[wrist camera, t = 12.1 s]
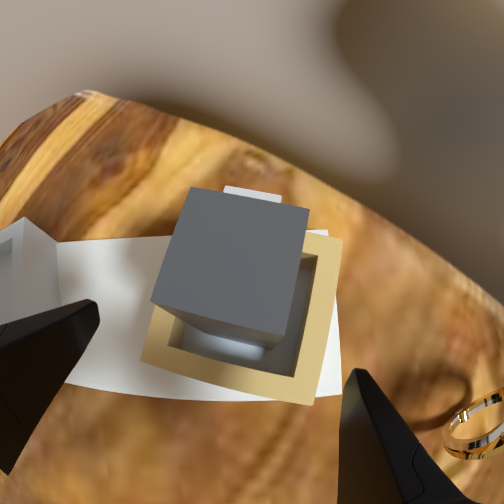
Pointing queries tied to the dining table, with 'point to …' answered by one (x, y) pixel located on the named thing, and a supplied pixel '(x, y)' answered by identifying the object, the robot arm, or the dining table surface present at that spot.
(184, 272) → the plug
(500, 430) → the ring
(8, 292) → the raised dock
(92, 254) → the panel board
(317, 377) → the low dock
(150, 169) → the dining table surface
